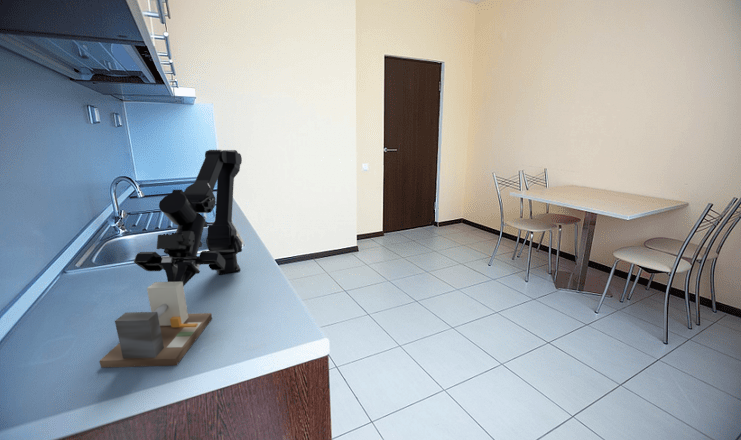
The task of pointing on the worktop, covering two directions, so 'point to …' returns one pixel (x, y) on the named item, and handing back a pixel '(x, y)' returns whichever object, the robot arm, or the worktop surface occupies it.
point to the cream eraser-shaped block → (168, 301)
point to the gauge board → (166, 352)
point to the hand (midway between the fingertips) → (172, 296)
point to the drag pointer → (177, 323)
